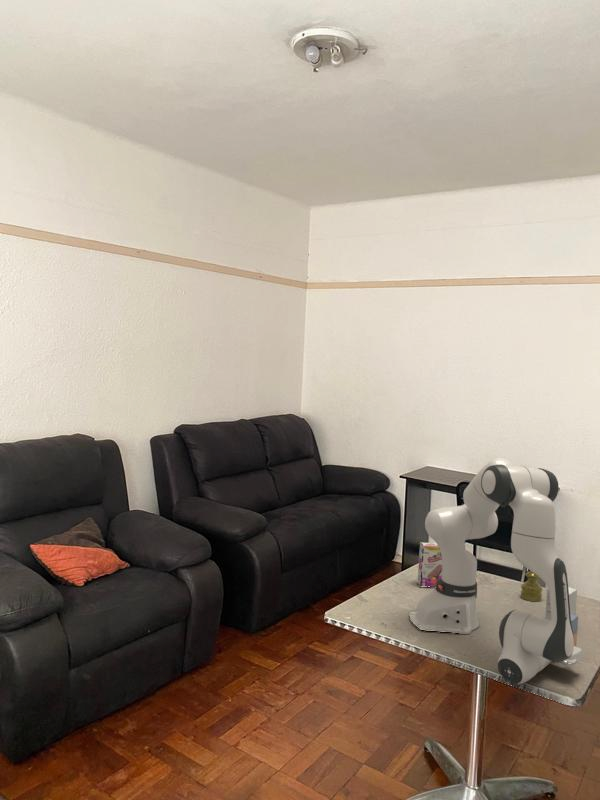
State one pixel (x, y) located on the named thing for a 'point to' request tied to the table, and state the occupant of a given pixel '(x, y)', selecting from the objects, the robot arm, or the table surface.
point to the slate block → (574, 623)
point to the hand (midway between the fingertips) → (554, 637)
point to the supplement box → (571, 600)
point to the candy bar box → (429, 564)
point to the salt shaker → (531, 588)
